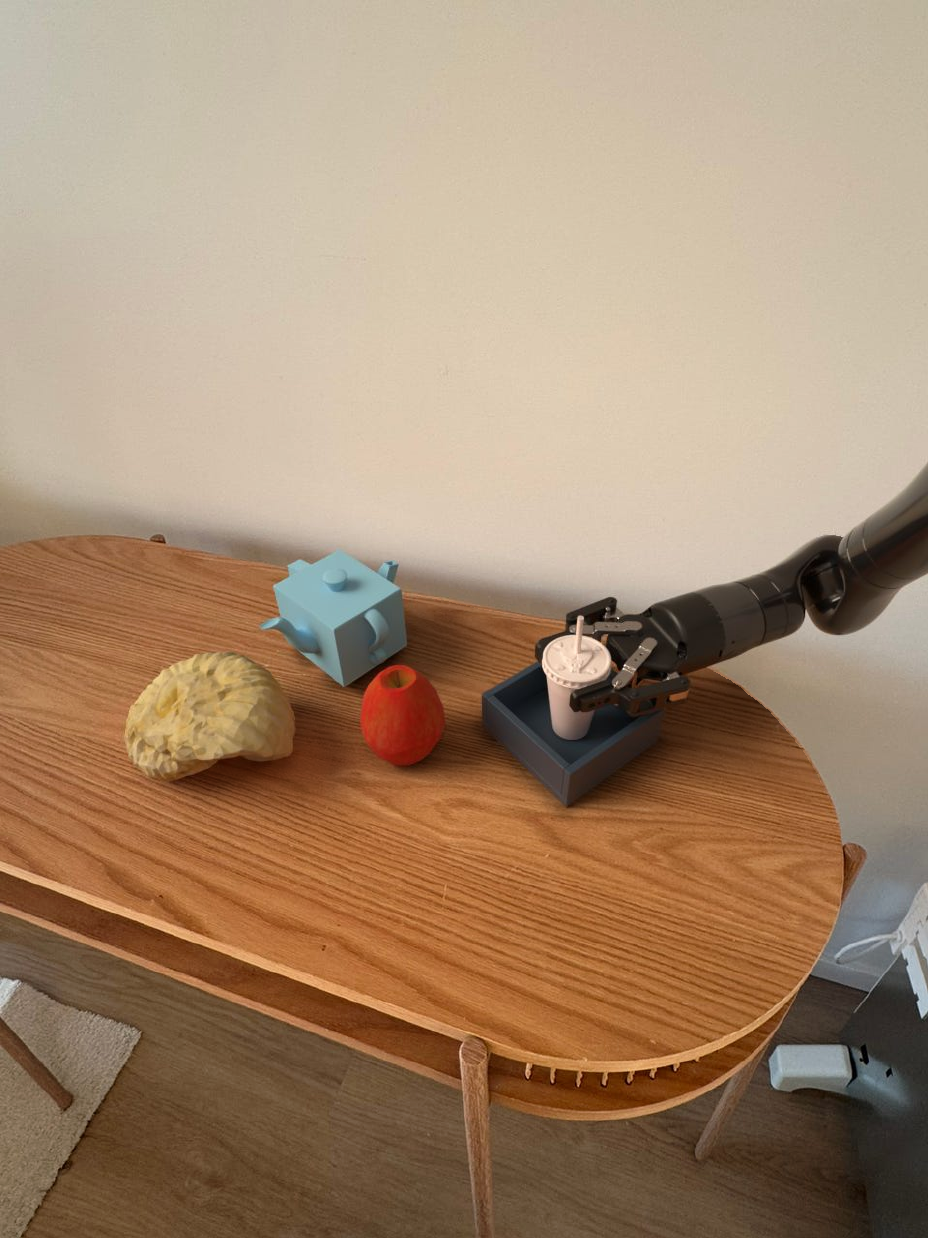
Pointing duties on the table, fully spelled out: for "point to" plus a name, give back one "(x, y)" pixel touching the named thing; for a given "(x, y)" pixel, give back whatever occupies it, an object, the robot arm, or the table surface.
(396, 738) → the apple
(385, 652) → the teapot
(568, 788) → the bin
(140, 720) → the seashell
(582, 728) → the smoothie
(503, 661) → the table surface
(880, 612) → the robot arm
